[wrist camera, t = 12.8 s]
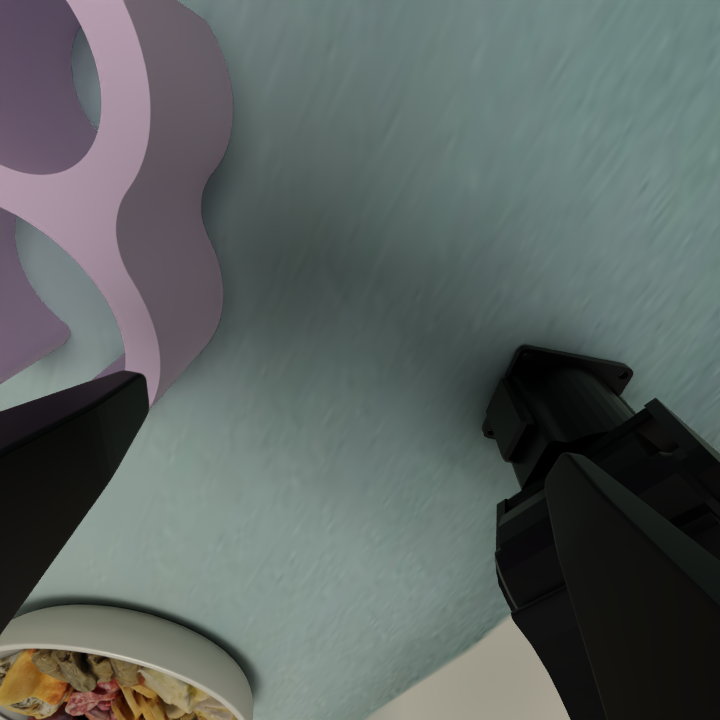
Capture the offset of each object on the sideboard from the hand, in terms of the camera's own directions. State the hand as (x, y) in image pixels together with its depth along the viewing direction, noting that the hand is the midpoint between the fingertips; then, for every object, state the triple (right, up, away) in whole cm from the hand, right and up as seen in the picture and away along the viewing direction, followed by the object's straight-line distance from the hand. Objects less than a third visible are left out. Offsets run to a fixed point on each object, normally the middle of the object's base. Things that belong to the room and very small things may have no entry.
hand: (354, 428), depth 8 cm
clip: (-12, +8, +12) cm, 19 cm away
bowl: (-26, -34, +37) cm, 57 cm away
